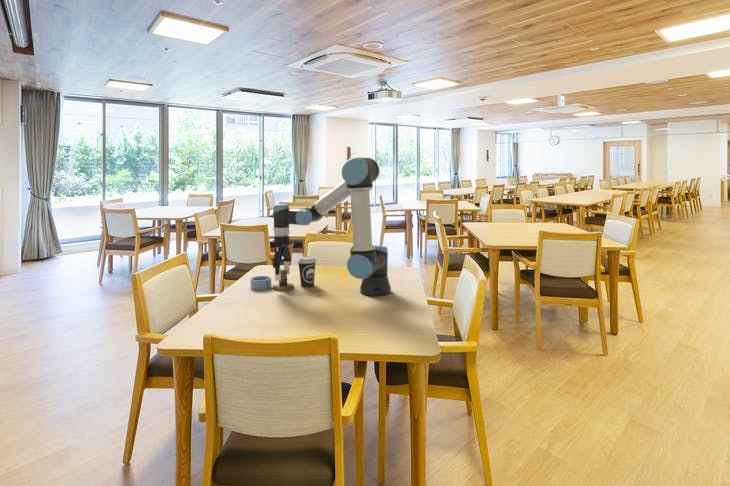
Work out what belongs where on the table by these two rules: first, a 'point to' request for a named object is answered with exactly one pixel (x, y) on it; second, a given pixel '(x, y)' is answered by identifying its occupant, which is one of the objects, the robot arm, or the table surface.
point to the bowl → (260, 282)
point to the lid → (283, 282)
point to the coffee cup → (307, 270)
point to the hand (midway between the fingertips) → (282, 277)
